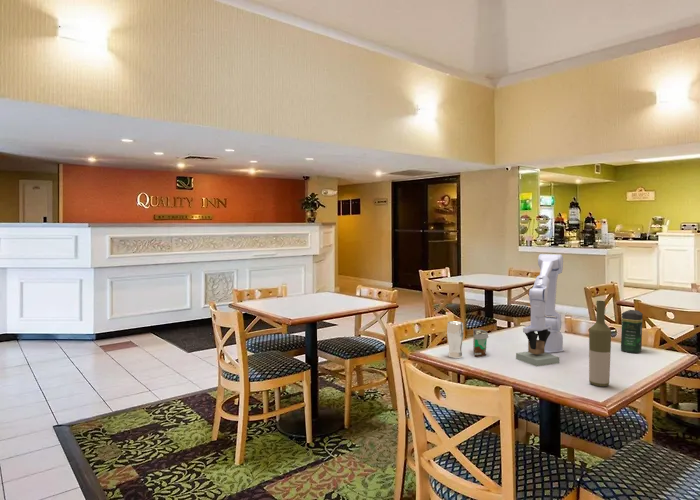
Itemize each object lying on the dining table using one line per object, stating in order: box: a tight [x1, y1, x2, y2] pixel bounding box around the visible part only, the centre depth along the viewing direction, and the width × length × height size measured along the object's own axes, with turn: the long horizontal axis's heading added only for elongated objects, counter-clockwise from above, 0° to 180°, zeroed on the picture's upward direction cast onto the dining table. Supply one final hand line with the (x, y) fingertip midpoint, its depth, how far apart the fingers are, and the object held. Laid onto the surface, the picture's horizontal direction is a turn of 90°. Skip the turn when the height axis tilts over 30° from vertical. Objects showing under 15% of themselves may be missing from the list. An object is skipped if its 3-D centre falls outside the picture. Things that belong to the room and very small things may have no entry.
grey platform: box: [515, 351, 560, 367], centre depth 200 cm, size 12×12×3 cm
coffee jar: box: [620, 309, 644, 354], centre depth 215 cm, size 10×8×19 cm
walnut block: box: [527, 339, 544, 355], centre depth 200 cm, size 4×4×5 cm
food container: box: [472, 328, 489, 358], centre depth 211 cm, size 12×6×10 cm, turn 168°
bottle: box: [588, 300, 612, 387], centre depth 169 cm, size 7×7×30 cm
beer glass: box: [446, 320, 464, 359], centre depth 206 cm, size 7×7×15 cm
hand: (537, 348), depth 199 cm, fingers closed on walnut block, 4 cm apart
